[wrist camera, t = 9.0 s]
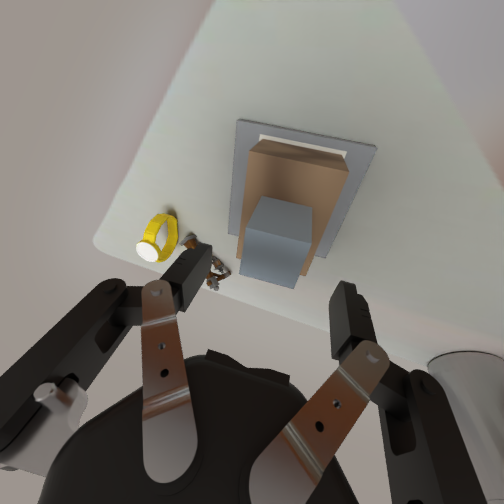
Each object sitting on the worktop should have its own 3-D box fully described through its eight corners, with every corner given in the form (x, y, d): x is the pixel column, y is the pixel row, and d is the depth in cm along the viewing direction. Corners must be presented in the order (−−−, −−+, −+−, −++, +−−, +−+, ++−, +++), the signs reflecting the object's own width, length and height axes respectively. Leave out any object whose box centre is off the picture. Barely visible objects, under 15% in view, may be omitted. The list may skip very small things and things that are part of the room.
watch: (163, 205, 27) (131, 225, 22) (183, 210, 27) (155, 231, 22) (165, 243, 31) (138, 267, 26) (183, 248, 30) (159, 274, 26)
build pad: (374, 145, 18) (377, 148, 17) (325, 253, 25) (325, 258, 25) (239, 118, 19) (236, 120, 18) (230, 229, 27) (227, 234, 26)
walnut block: (342, 154, 18) (349, 172, 14) (306, 246, 24) (305, 276, 20) (262, 138, 19) (249, 150, 15) (248, 232, 25) (236, 257, 21)
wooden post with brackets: (229, 282, 31) (209, 295, 28) (201, 237, 32) (177, 244, 28) (237, 277, 30) (217, 290, 27) (208, 230, 31) (184, 237, 27)
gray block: (312, 207, 16) (311, 243, 12) (297, 248, 19) (293, 289, 15) (261, 195, 17) (245, 227, 13) (254, 237, 19) (238, 274, 15)
